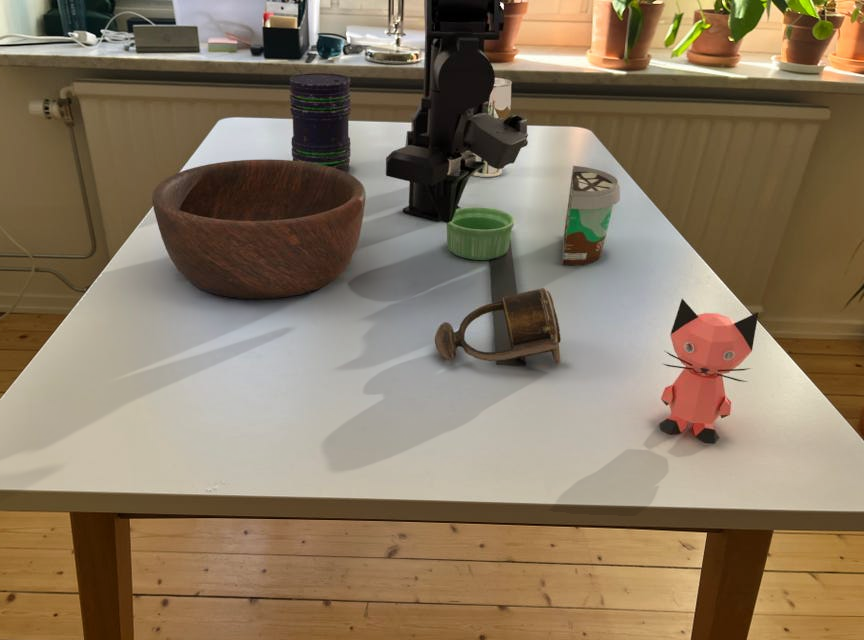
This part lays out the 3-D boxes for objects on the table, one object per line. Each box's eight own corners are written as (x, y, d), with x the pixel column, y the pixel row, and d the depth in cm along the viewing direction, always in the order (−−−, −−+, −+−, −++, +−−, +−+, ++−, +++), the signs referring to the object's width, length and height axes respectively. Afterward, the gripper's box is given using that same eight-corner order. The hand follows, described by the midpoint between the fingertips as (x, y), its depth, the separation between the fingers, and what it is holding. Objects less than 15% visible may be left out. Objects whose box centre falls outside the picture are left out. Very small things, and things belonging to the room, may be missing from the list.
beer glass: (511, 170, 141) (520, 80, 133) (493, 180, 136) (501, 87, 128) (475, 163, 144) (481, 75, 137) (456, 173, 139) (462, 81, 131)
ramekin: (446, 262, 105) (447, 229, 102) (441, 237, 112) (442, 206, 110) (516, 262, 105) (519, 230, 102) (506, 237, 112) (509, 206, 110)
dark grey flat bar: (526, 366, 82) (526, 365, 82) (496, 364, 82) (496, 363, 82) (509, 232, 115) (509, 231, 115) (487, 231, 115) (487, 230, 115)
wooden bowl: (184, 230, 112) (176, 156, 107) (365, 233, 113) (366, 159, 108) (138, 310, 91) (126, 221, 86) (363, 313, 91) (364, 226, 86)
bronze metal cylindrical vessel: (564, 342, 74) (583, 280, 81) (430, 307, 77) (460, 250, 84) (550, 397, 79) (569, 334, 86) (425, 362, 82) (453, 304, 89)
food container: (611, 273, 102) (625, 196, 98) (562, 268, 103) (573, 192, 99) (608, 239, 113) (620, 168, 108) (563, 235, 114) (573, 164, 109)
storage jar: (281, 174, 136) (277, 81, 129) (308, 159, 144) (306, 71, 137) (335, 182, 133) (334, 87, 126) (360, 166, 141) (360, 76, 134)
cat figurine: (643, 436, 71) (669, 313, 65) (654, 399, 77) (679, 281, 71) (729, 457, 69) (764, 331, 63) (734, 417, 74) (767, 297, 68)
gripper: (475, 115, 81) (464, 261, 89) (556, 86, 94) (540, 215, 102) (384, 98, 87) (381, 237, 94) (472, 74, 100) (463, 197, 108)
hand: (446, 221), depth 99 cm, fingers closed
